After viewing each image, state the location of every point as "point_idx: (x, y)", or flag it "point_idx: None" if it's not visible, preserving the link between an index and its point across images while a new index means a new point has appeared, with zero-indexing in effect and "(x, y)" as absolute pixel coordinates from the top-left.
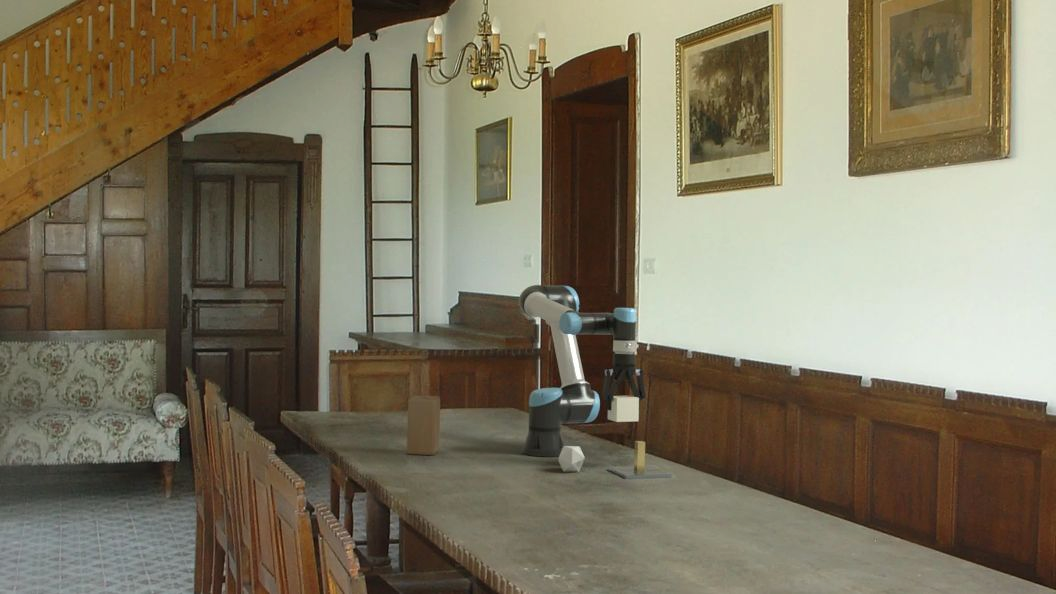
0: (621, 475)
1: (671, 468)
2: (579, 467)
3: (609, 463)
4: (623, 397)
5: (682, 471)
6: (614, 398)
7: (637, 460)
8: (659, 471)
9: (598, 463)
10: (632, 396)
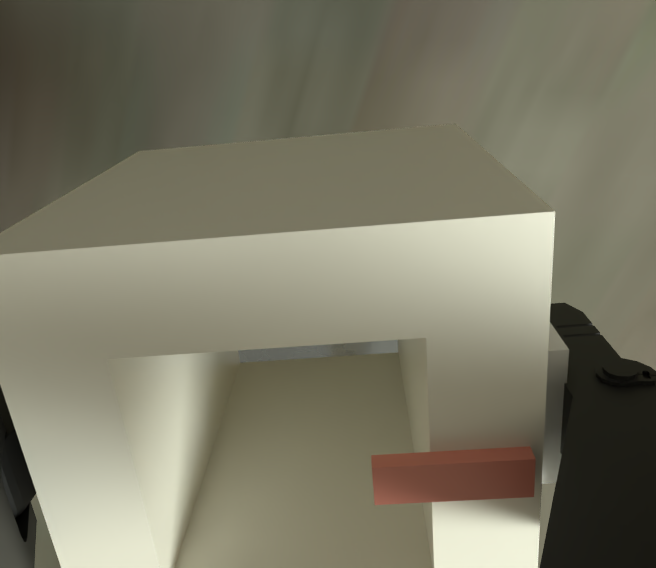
0: None
1: (625, 256)
2: None
3: (270, 41)
4: (337, 328)
5: (638, 349)
6: (71, 555)
7: None
8: None
9: (187, 35)
10: (491, 493)
